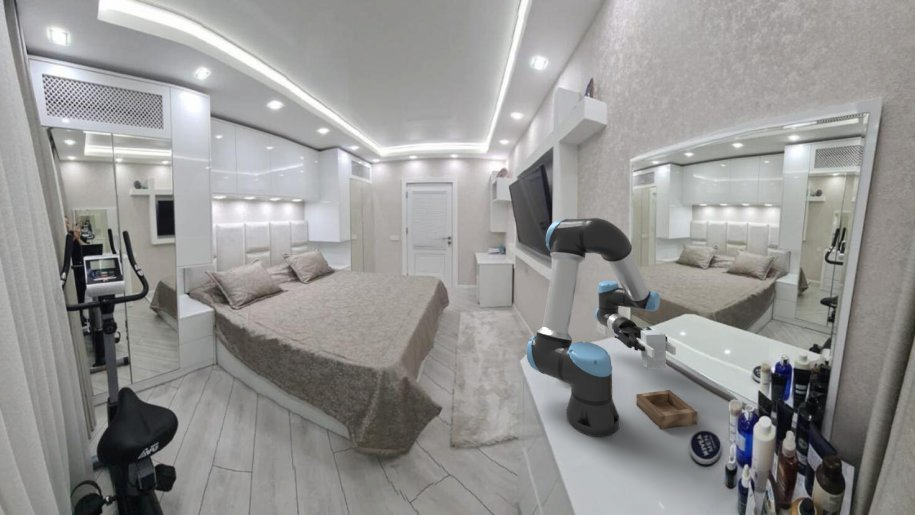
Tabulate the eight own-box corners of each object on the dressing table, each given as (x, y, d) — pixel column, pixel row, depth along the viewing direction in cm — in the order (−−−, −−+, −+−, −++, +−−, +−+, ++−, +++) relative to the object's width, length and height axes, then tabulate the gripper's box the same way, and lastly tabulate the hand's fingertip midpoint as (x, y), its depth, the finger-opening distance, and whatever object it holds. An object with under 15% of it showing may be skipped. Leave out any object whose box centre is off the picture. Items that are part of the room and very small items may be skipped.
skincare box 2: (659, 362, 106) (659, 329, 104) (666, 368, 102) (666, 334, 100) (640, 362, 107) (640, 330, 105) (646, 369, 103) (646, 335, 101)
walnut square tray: (660, 428, 89) (660, 416, 89) (636, 405, 100) (636, 394, 100) (696, 424, 90) (697, 411, 89) (669, 401, 101) (669, 389, 100)
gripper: (645, 332, 122) (692, 359, 99) (598, 337, 121) (634, 366, 99) (645, 314, 121) (693, 337, 98) (597, 319, 120) (634, 344, 97)
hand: (663, 352), depth 98 cm, fingers closed on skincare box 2, 6 cm apart
